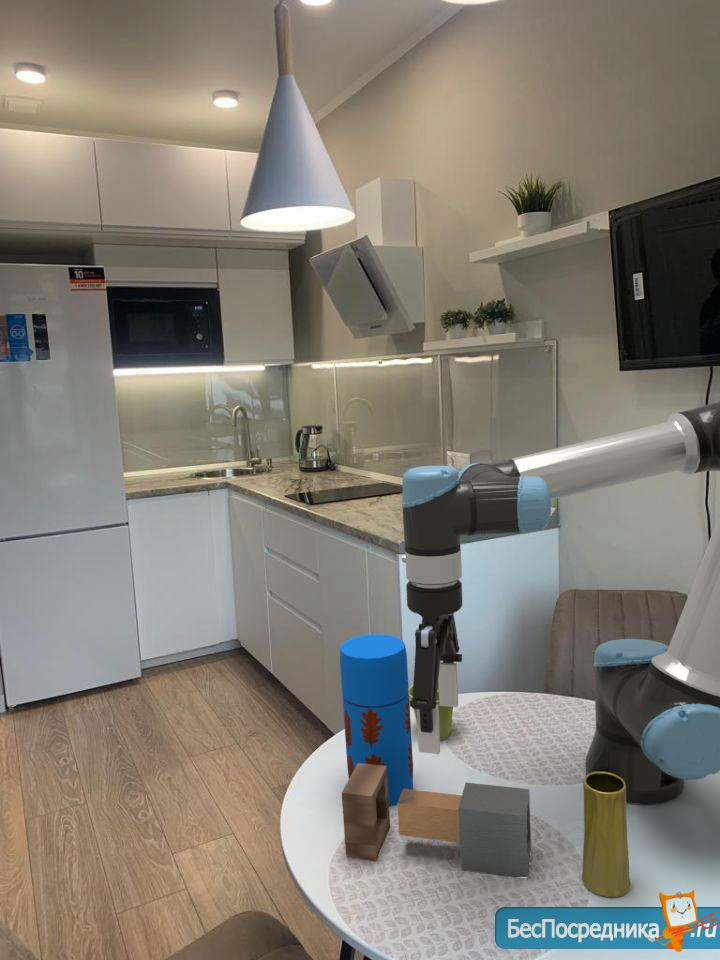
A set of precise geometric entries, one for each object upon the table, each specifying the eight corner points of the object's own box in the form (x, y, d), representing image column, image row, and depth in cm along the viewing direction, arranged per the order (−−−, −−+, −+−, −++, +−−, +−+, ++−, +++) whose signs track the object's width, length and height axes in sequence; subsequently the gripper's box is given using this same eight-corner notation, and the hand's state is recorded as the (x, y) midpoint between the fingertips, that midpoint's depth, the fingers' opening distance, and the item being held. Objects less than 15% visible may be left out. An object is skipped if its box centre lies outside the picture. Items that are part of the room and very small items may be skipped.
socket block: (390, 826, 110) (386, 766, 109) (376, 861, 103) (371, 796, 101) (362, 823, 112) (358, 762, 110) (346, 856, 104) (341, 792, 103)
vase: (592, 860, 100) (590, 764, 98) (637, 877, 96) (636, 778, 94) (574, 885, 96) (572, 785, 94) (621, 905, 92) (619, 801, 90)
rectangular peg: (527, 835, 102) (526, 802, 101) (525, 851, 98) (524, 818, 98) (405, 819, 107) (403, 788, 106) (399, 835, 104) (397, 802, 103)
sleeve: (531, 848, 103) (529, 789, 102) (527, 879, 97) (525, 816, 96) (468, 840, 106) (465, 782, 105) (461, 869, 100) (458, 808, 99)
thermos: (409, 810, 114) (400, 659, 111) (343, 806, 116) (332, 658, 113) (417, 773, 125) (409, 634, 121) (356, 769, 127) (347, 633, 123)
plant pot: (402, 727, 141) (400, 685, 140) (447, 717, 144) (445, 676, 142) (420, 750, 132) (418, 705, 131) (467, 739, 135) (466, 695, 134)
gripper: (426, 556, 111) (432, 687, 114) (381, 608, 88) (390, 771, 91) (475, 557, 109) (479, 691, 112) (443, 611, 85) (449, 778, 89)
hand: (439, 727), depth 101 cm, fingers open, 13 cm apart
